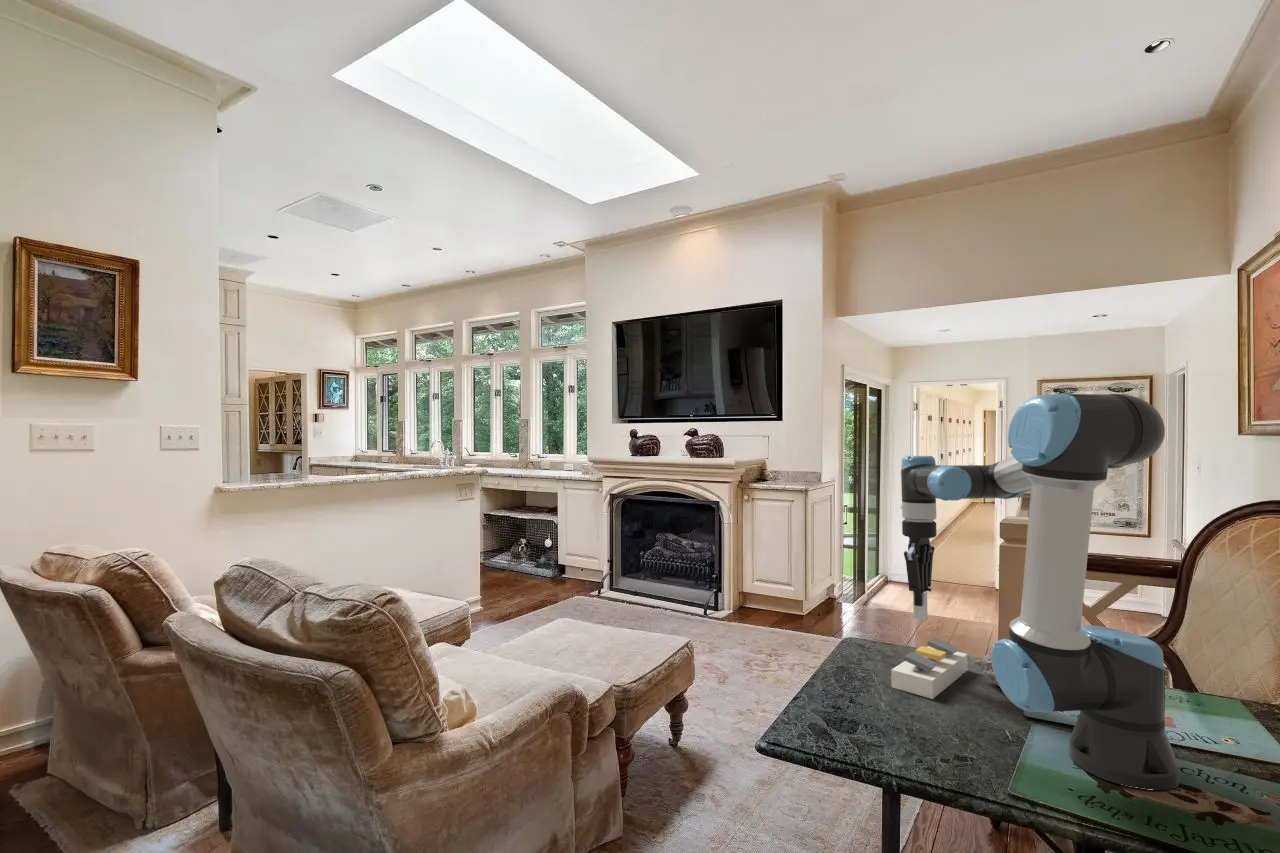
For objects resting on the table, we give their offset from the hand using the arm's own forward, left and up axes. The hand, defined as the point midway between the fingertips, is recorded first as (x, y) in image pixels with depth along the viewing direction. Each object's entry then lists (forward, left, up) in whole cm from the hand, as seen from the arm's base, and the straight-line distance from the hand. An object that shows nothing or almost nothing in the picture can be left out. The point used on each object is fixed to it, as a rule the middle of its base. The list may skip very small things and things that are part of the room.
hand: (920, 618), depth 147 cm
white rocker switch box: (-2, -3, -14) cm, 14 cm away
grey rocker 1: (-2, +7, -9) cm, 11 cm away
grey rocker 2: (-2, -7, -9) cm, 12 cm away
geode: (-19, -8, -14) cm, 25 cm away
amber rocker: (-2, 0, -9) cm, 9 cm away
